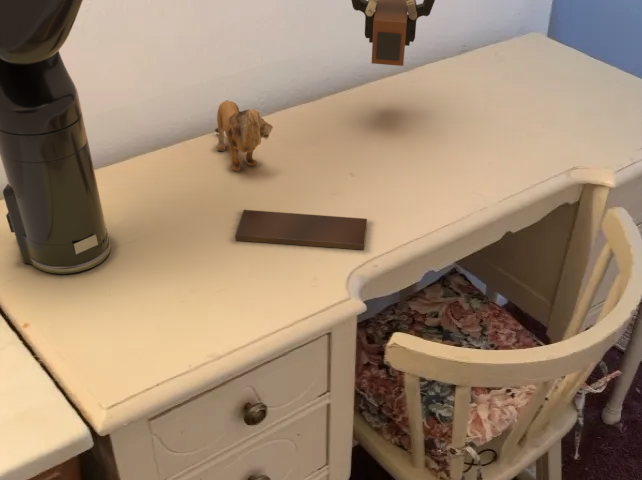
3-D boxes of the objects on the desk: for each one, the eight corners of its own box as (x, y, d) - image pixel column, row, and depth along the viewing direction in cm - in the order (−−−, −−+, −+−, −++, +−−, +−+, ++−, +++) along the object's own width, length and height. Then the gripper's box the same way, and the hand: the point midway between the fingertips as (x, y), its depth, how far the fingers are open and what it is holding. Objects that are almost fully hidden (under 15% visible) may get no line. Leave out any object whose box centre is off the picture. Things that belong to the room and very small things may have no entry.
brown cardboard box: (371, 64, 117) (373, 20, 113) (375, 37, 125) (377, -6, 121) (403, 67, 117) (406, 23, 113) (405, 39, 125) (408, -3, 121)
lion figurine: (278, 174, 116) (276, 112, 110) (243, 183, 113) (239, 121, 107) (231, 130, 124) (226, 70, 118) (198, 138, 122) (191, 77, 116)
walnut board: (235, 240, 104) (235, 235, 103) (243, 214, 108) (243, 209, 107) (363, 250, 104) (364, 244, 103) (367, 223, 108) (367, 218, 107)
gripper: (340, -88, 106) (337, 48, 118) (453, -79, 106) (438, 56, 118) (345, -103, 111) (342, 28, 123) (452, -94, 111) (439, 36, 123)
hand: (389, 41), depth 120 cm, fingers closed on brown cardboard box, 4 cm apart
